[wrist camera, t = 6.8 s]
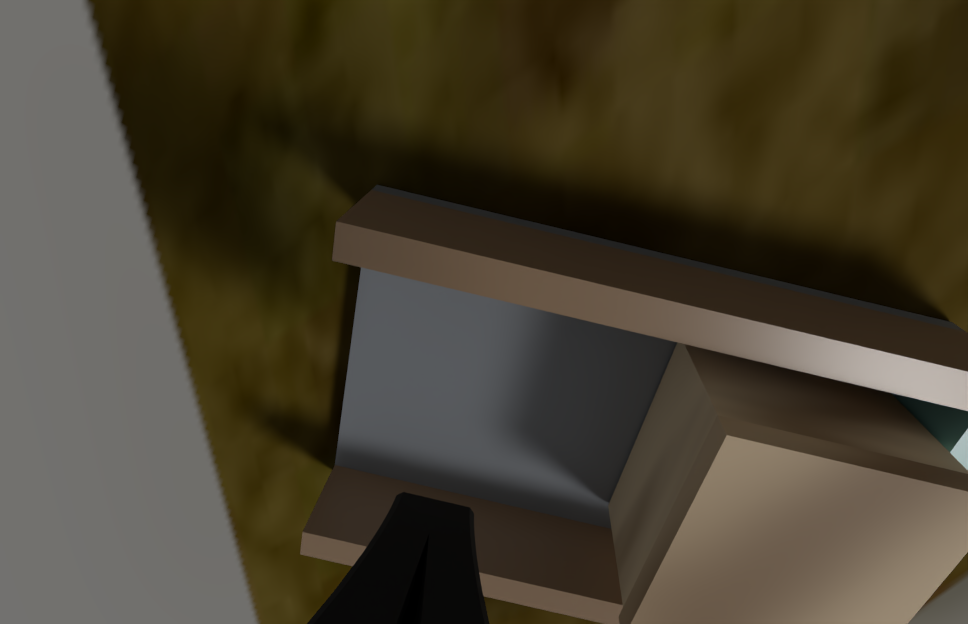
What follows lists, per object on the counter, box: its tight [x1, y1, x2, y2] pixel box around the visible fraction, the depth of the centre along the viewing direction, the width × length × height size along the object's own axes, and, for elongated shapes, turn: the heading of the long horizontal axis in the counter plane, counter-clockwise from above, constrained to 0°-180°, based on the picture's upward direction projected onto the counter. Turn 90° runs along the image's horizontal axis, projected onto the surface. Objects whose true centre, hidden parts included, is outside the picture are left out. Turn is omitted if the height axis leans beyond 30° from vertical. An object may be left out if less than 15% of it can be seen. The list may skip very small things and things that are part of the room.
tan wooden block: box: [608, 342, 968, 624], centre depth 13 cm, size 5×6×4 cm
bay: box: [300, 185, 968, 624], centre depth 14 cm, size 14×9×3 cm, turn 78°
